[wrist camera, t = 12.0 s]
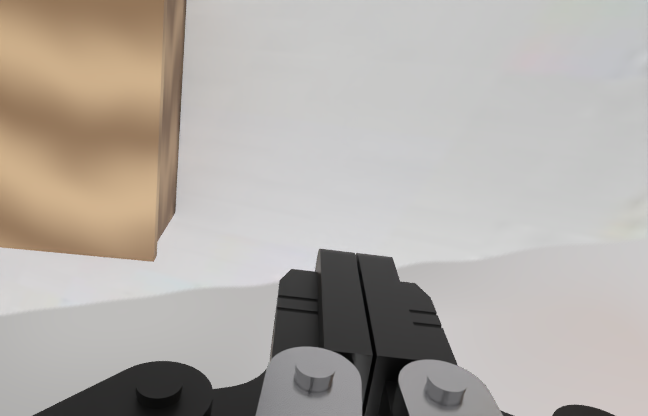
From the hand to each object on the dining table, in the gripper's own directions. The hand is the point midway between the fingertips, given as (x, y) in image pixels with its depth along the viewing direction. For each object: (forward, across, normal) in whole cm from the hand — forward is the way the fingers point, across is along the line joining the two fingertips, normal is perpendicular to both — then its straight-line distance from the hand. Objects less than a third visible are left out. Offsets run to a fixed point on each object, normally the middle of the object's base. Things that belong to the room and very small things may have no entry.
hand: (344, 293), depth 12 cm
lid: (+20, +15, +2) cm, 25 cm away
